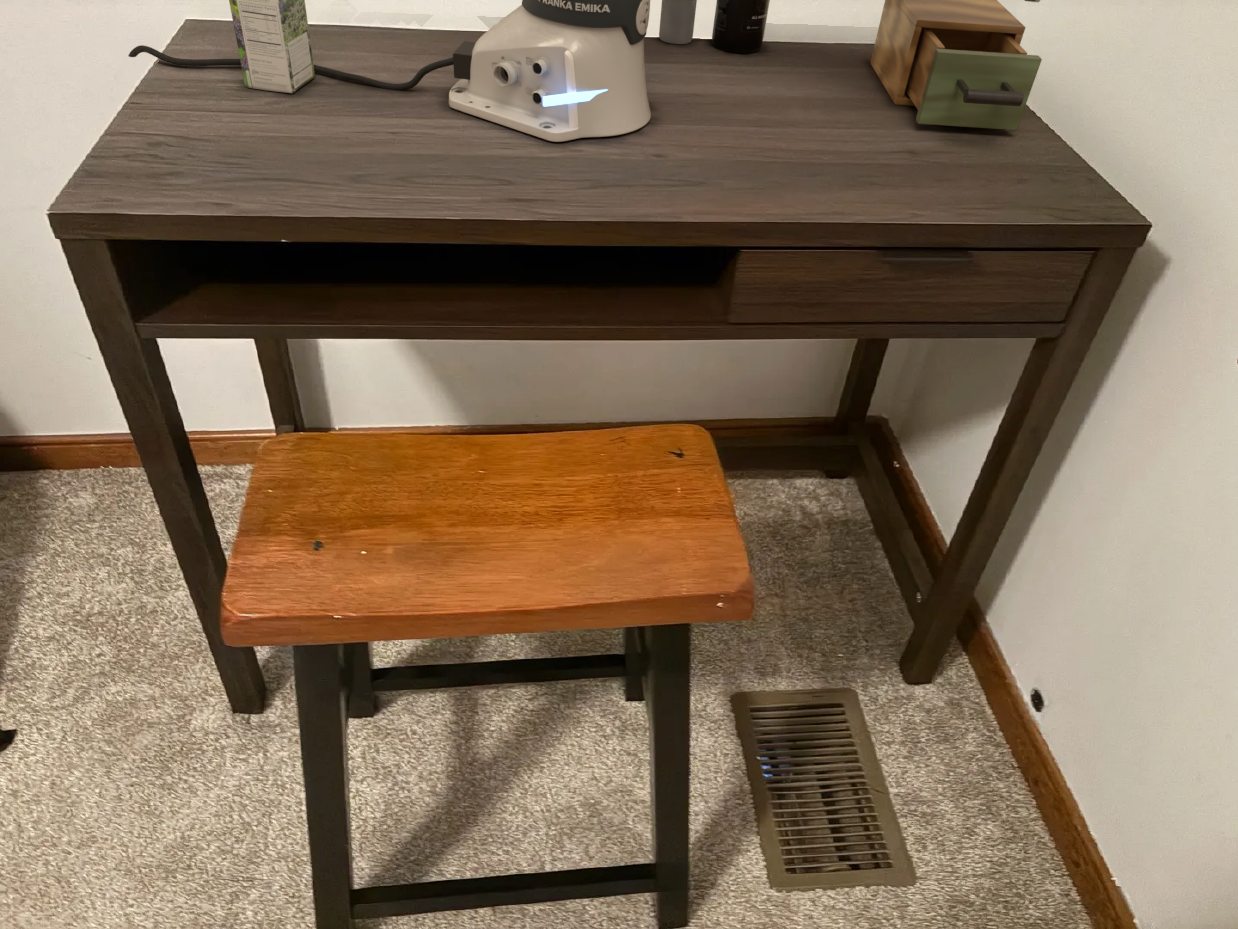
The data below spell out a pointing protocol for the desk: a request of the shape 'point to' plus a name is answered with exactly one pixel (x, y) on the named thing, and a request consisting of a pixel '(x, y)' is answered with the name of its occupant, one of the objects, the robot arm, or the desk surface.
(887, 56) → the cabinet
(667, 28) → the planter
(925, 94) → the drawer
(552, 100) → the robot arm
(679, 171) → the desk surface
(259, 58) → the syrup box
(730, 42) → the supplement bottle
